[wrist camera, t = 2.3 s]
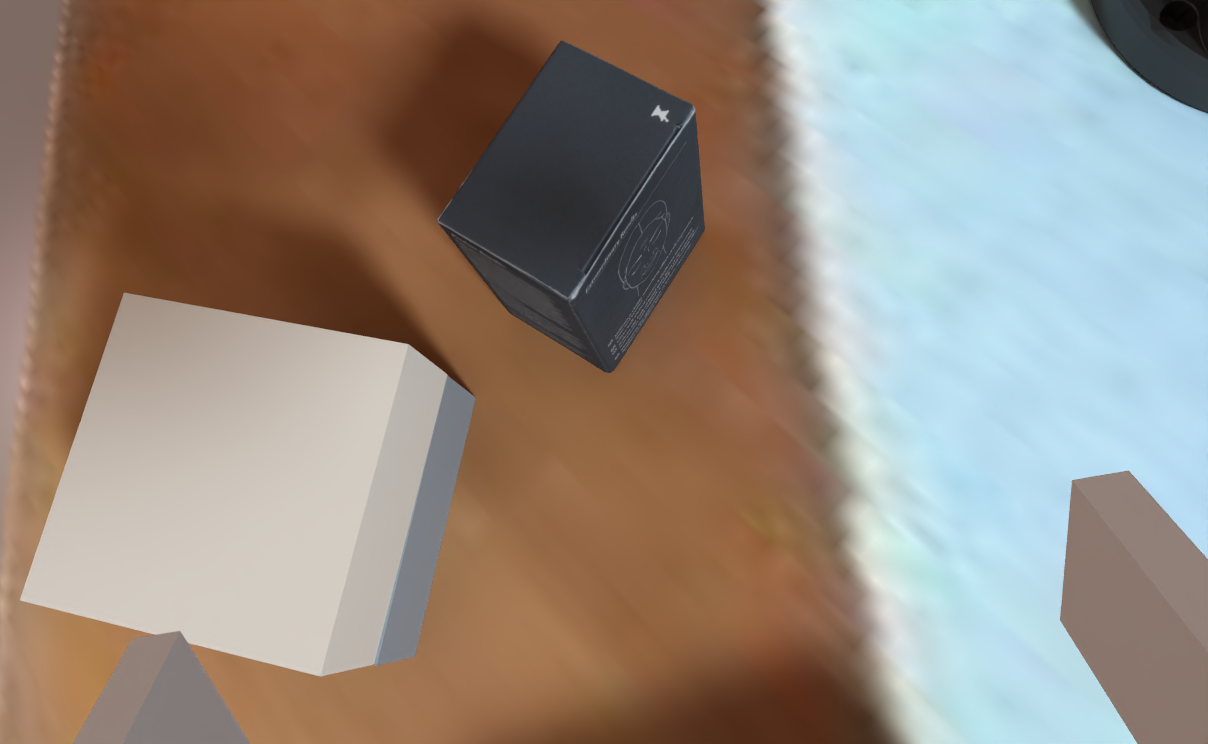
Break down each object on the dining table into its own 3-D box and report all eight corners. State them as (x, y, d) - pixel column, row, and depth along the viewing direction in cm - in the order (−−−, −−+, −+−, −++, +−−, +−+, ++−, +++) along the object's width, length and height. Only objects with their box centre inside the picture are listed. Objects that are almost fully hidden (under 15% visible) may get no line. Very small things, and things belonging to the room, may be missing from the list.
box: (600, 172, 40) (561, 32, 30) (707, 231, 39) (703, 105, 29) (504, 314, 39) (429, 219, 29) (611, 379, 38) (571, 303, 28)
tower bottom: (249, 358, 41) (193, 331, 36) (477, 398, 39) (447, 375, 35) (178, 601, 38) (109, 603, 34) (417, 656, 37) (376, 665, 32)
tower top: (195, 327, 36) (124, 292, 32) (447, 374, 35) (408, 344, 30) (108, 598, 34) (19, 600, 30) (373, 664, 32) (320, 676, 28)
